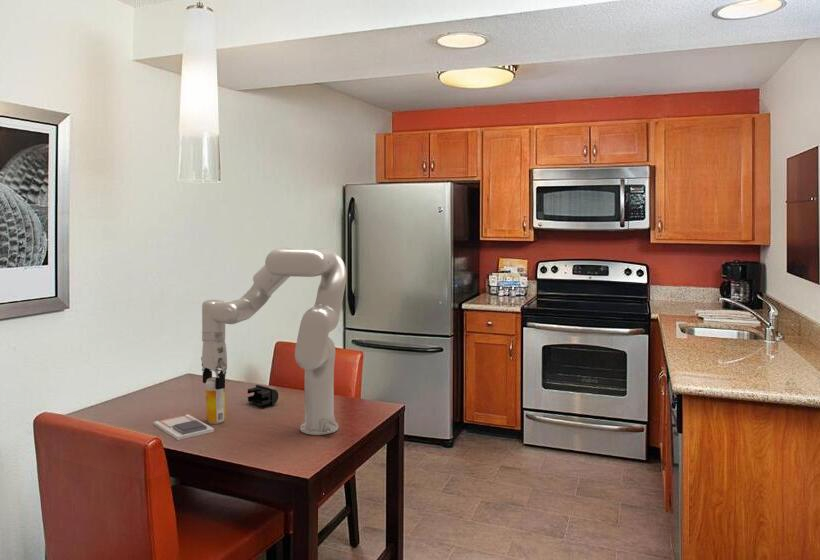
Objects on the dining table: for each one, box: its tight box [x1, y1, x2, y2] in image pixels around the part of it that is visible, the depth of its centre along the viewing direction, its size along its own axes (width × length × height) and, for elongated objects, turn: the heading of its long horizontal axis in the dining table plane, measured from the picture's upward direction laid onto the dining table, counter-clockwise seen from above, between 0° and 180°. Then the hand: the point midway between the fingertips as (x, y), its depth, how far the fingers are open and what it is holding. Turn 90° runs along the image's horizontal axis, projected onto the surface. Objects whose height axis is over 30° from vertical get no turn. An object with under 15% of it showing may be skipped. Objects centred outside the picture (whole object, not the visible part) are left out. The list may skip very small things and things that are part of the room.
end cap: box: [247, 384, 279, 410], centre depth 230 cm, size 10×7×7 cm
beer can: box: [205, 376, 226, 425], centre depth 210 cm, size 6×6×15 cm
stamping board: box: [153, 414, 215, 441], centre depth 203 cm, size 20×12×2 cm, turn 43°
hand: (213, 385), depth 209 cm, fingers open, 9 cm apart
